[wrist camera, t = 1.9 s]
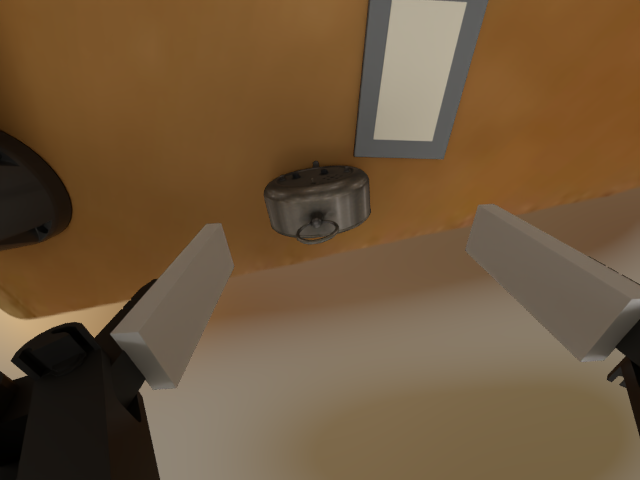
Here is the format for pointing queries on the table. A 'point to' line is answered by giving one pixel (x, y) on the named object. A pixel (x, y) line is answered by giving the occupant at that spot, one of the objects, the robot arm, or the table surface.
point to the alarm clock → (318, 202)
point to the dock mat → (414, 75)
